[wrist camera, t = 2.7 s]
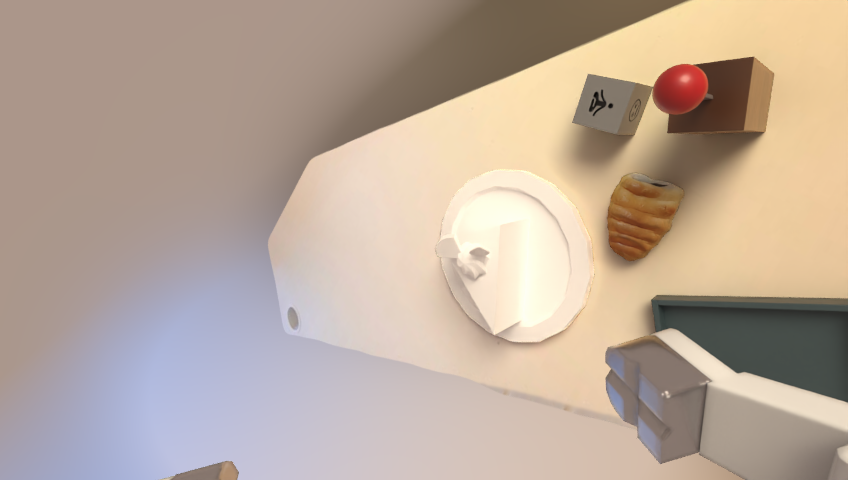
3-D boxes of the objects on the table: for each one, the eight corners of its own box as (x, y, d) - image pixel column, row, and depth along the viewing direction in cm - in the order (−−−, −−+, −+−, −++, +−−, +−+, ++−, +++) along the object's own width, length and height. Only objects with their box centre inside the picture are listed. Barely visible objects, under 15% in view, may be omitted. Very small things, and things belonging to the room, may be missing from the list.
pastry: (658, 267, 46) (646, 275, 43) (600, 244, 50) (586, 250, 48) (690, 185, 42) (680, 188, 40) (625, 168, 47) (611, 170, 44)
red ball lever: (774, 73, 37) (728, 34, 23) (765, 131, 38) (716, 128, 24) (707, 80, 40) (632, 50, 26) (701, 134, 41) (625, 132, 27)
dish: (429, 196, 69) (376, 203, 62) (565, 143, 51) (514, 144, 43) (466, 339, 69) (417, 365, 61) (617, 337, 51) (575, 373, 43)
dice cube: (607, 78, 46) (588, 73, 43) (653, 87, 43) (635, 82, 40) (592, 123, 48) (572, 122, 45) (634, 134, 45) (616, 134, 42)
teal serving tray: (867, 298, 35) (868, 305, 33) (884, 448, 36) (885, 460, 34) (657, 295, 47) (651, 299, 45) (673, 407, 47) (667, 415, 46)
